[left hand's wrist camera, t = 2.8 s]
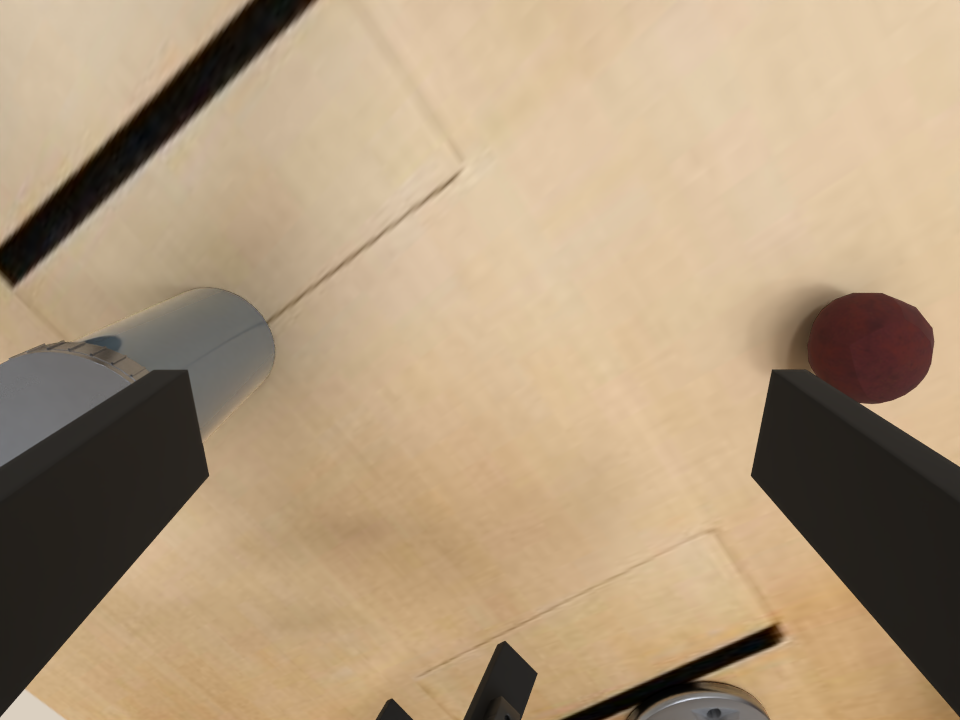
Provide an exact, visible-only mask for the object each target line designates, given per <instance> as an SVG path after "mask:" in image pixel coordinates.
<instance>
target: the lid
mask: <svg viewBox="0 0 960 720" xmlns="http://www.w3.org/2000/svg"><path fill="white" fill-rule="evenodd" d="M145 368H146V367H142V366H141V365H140V364H138V363H137V362H135V361H134V360H132V359H130V358H128V357H127V355H123V354H120V353H118V352H116V351H113V350H111V349H108V348H106V346H104V347H101V346H98V345H93V344H88V343H85V342H84V341H83V342H81V343H79V342H65V341H60V342H58V343H53V344H48V345H45V344H42V345H40V346H37V347H35V348H32V349H30V350H27V351H25V352H23V353H20V354H18V355H16V356H13V357H11V358H9V360H8V361H6V362H4V363H2V364H1V365H0V467H1V466H3V465H4V464H6V463H7V462H9V461H10V460H12V459H14V458H15V457H17V456H18V455H20V454H21V453H23V452H25V451H26V450H28V449H29V448H31V447H32V446H34V445H36V444H37V443H39V442H40V441H42V440H44V439H45V438H47V437H48V436H50V435H51V434H53V433H55V432H56V431H58V430H59V429H61V428H62V427H64V426H66V425H67V424H69V423H70V422H72V421H74V420H75V419H77V418H78V417H80V416H81V415H83V414H85V413H86V412H88V411H89V410H91V409H92V408H94V407H96V406H97V405H99V404H100V403H102V402H104V401H105V400H107V399H108V398H110V397H111V396H113V395H115V394H116V393H118V392H119V391H121V390H122V389H124V388H126V387H127V386H129V385H130V384H132V383H134V382H135V381H137V380H138V379H140V378H141V377H143V376H145V375H146V374H148V373H149V371H148V370H147V369H145Z"/></svg>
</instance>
